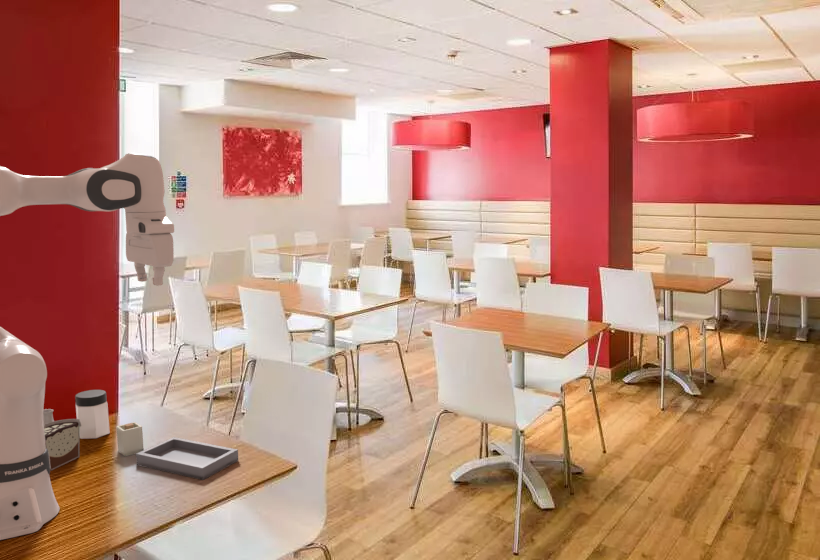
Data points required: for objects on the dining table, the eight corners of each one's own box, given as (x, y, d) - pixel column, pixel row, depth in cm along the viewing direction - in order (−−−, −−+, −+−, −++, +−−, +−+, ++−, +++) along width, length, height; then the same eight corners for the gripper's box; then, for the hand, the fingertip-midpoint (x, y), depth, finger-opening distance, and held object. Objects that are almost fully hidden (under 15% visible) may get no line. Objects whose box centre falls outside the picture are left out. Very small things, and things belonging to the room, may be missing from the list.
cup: (124, 456, 183) (122, 429, 182) (118, 451, 187) (116, 424, 186) (143, 451, 186) (141, 424, 185) (136, 446, 190) (135, 420, 189)
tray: (203, 480, 168) (202, 468, 167) (136, 464, 177) (136, 453, 177) (238, 460, 179) (237, 449, 179) (174, 447, 189) (173, 436, 189)
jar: (97, 426, 206) (94, 387, 204) (116, 431, 202) (113, 391, 201) (70, 436, 198) (67, 396, 196) (89, 441, 194) (86, 399, 193)
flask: (51, 451, 187) (48, 415, 186) (28, 449, 189) (25, 414, 187) (69, 441, 194) (67, 407, 193) (47, 440, 196) (44, 405, 194)
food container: (65, 452, 187) (62, 416, 185) (83, 454, 185) (80, 418, 183) (26, 469, 175) (23, 431, 174) (45, 473, 173) (42, 434, 172)
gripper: (116, 223, 167) (120, 280, 169) (149, 226, 152) (153, 289, 154) (143, 222, 171) (146, 277, 173) (177, 225, 156) (180, 286, 158)
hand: (150, 283), depth 163 cm, fingers open, 8 cm apart
